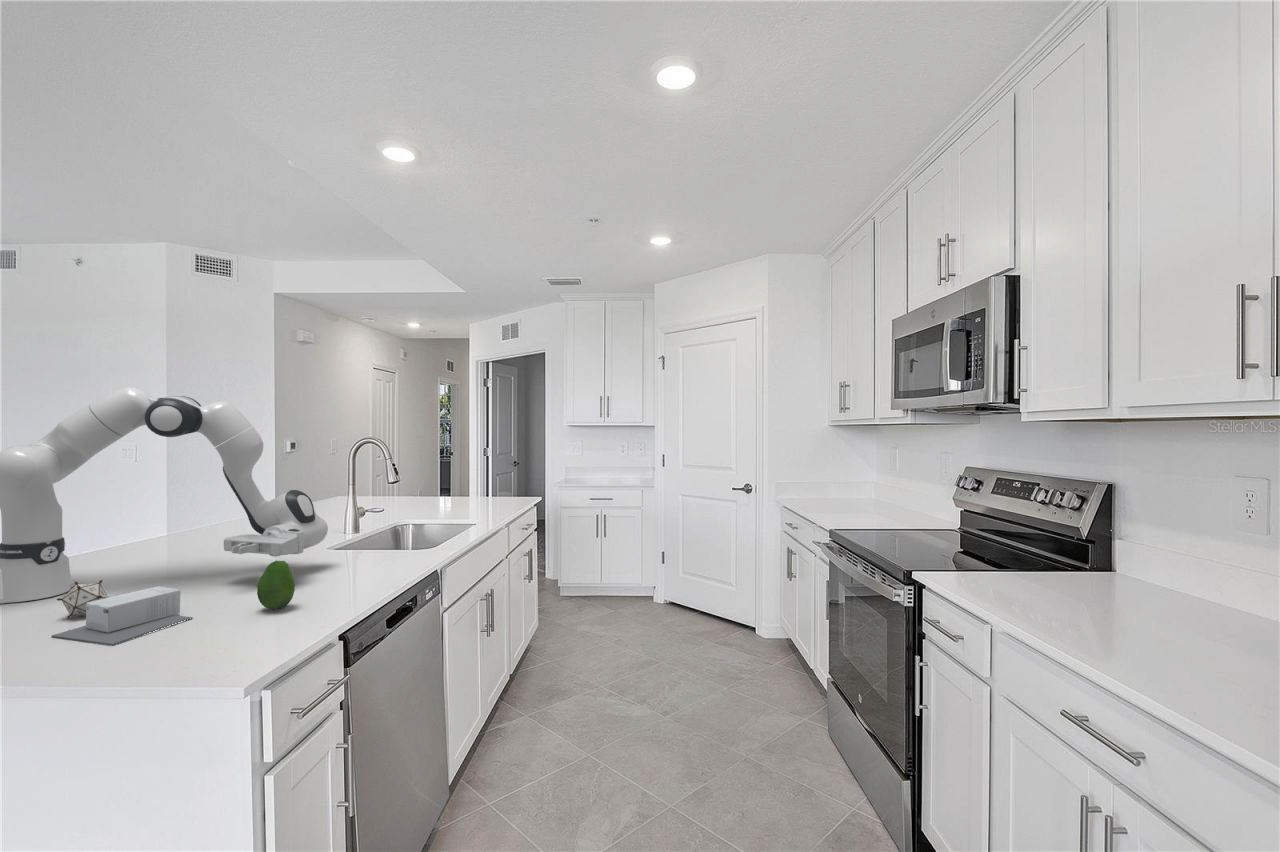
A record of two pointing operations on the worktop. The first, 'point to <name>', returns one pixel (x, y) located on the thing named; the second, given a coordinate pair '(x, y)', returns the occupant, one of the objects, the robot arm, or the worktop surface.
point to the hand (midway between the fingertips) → (236, 550)
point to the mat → (118, 632)
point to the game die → (82, 597)
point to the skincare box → (132, 608)
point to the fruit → (276, 586)
